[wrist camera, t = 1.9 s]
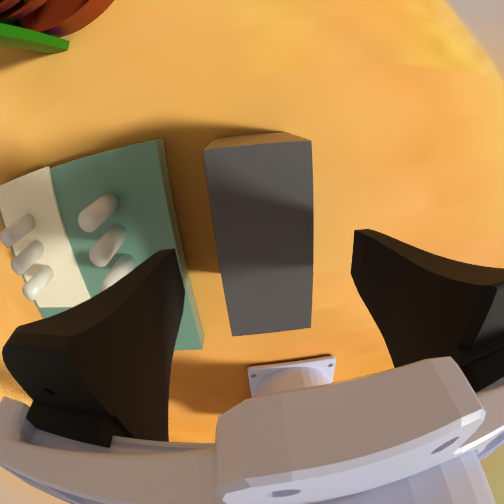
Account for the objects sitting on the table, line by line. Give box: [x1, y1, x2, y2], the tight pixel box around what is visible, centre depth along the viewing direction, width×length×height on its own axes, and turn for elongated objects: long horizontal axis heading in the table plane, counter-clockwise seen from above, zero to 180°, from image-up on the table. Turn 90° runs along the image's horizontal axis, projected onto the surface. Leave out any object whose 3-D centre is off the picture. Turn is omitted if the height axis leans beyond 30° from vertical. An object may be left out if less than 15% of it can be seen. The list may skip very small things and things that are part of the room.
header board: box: [0, 138, 204, 350], centre depth 16 cm, size 15×14×4 cm
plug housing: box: [203, 132, 313, 336], centre depth 14 cm, size 9×4×6 cm, turn 5°
